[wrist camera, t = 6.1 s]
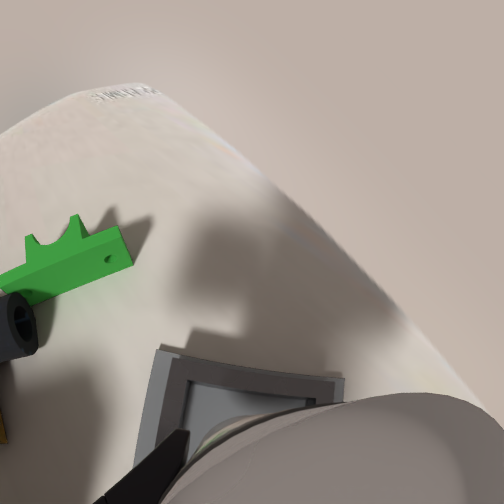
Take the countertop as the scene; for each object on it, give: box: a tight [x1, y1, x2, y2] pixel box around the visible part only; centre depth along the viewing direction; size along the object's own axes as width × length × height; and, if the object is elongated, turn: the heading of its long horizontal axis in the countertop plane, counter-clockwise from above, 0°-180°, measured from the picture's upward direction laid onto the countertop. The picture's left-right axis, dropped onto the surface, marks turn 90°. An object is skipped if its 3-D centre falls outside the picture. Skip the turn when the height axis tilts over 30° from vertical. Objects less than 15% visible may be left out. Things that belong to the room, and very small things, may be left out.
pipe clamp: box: [0, 214, 133, 306], centre depth 21 cm, size 11×4×5 cm, turn 117°
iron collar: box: [154, 357, 335, 449], centre depth 16 cm, size 11×11×2 cm
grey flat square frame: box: [133, 349, 345, 468], centre depth 18 cm, size 12×14×1 cm
